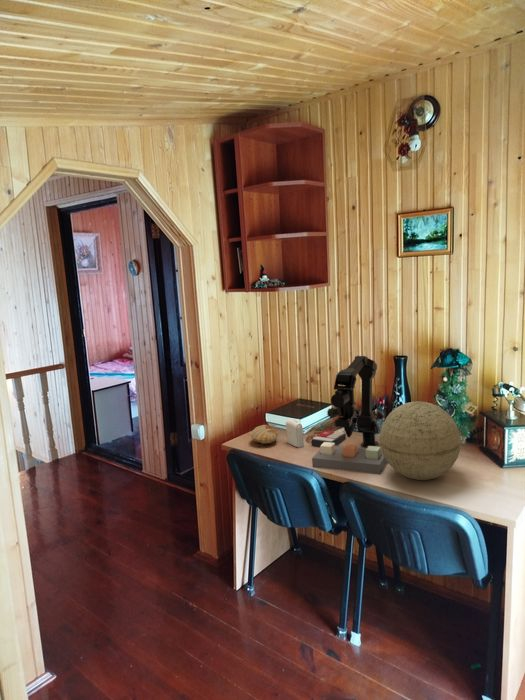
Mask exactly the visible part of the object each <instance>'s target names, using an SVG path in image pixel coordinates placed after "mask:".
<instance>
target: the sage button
mask: <svg viewBox="0 0 525 700" xmlns="http://www.w3.org/2000/svg"><path fill="white" fill-rule="evenodd" d="M366 448H367V449H366V459H376V460H379V459H380V457H381V446H377V445H376V446H368V447H366Z"/></svg>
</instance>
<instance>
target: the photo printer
mask: <svg viewBox="0 0 525 700" xmlns="http://www.w3.org/2000/svg"><path fill="white" fill-rule="evenodd" d="M285 429H286V432H285V433H286V441H287V444H289V445H291V446H294V447H296V448H302V447H304V445H305V444H304V443H305V442H304V434H303V433H304V431H303V425H302V424H301V422H300V421H298V420H296V419H293V418H290V419H287V420H286V421H285Z"/></svg>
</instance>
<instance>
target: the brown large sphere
mask: <svg viewBox="0 0 525 700" xmlns="http://www.w3.org/2000/svg"><path fill="white" fill-rule="evenodd" d="M379 433H380V434H379V445H380V447H381V450H382V452H383V455H384V457H385V459H386V460H387V464H388V465H389V466H391V468H392V469H393V470H394V471H395V472H396V473H399V474H400V475H402V476H403V477H406V478H409V479H413V480H418V481H427V480H433V479H437V478H439V477H441V476H442V475H444V474H446V473H448V471H449V470H450V469H451V468H452V467H453V466H454V465H455V463H456V462H457V459H458V457H459V455H460V452H461V444H462V443H461V441H462V440H461V439H462V438H461V433H460V431H459V428H458V426H457V424H456V422H455V420H454V419H453V417H452V416H451V415H450V414H449V413H448V412H447V411H446V410H444V409H443V408H442V407H440V406H439V405H436V404H433V403H431V402H427V401H411V402H406V403H404V404H401V405H399V406H397V407H396V408H394V409H393V410H392V411H391V412H389V414H388V415H387V416H386V418H385V419H384V422H383V423H382V425H381V428H380V431H379Z"/></svg>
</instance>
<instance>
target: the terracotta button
mask: <svg viewBox="0 0 525 700" xmlns="http://www.w3.org/2000/svg"><path fill="white" fill-rule="evenodd" d="M343 446H344V447H343V456H345V457H356V456H357V454H358V449H357V448H358V444H354V443H353V444H351V443H345V444H344V445H343Z"/></svg>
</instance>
